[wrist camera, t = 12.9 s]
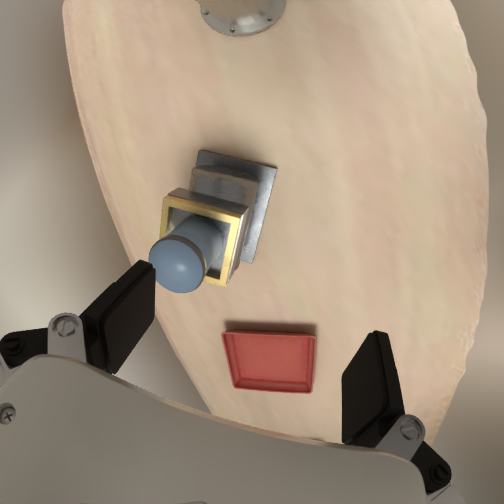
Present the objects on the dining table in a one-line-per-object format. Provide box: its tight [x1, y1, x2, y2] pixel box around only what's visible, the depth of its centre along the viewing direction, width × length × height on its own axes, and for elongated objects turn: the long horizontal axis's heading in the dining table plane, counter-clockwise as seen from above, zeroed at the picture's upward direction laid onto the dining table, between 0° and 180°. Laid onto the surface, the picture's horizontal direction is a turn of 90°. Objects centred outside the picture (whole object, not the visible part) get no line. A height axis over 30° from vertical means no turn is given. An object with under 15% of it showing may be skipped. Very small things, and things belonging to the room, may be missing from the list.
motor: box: [159, 150, 277, 287], centre depth 39 cm, size 16×12×14 cm
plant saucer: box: [221, 330, 317, 394], centre depth 57 cm, size 18×18×3 cm
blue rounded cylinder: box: [149, 217, 222, 293], centre depth 31 cm, size 6×6×7 cm
